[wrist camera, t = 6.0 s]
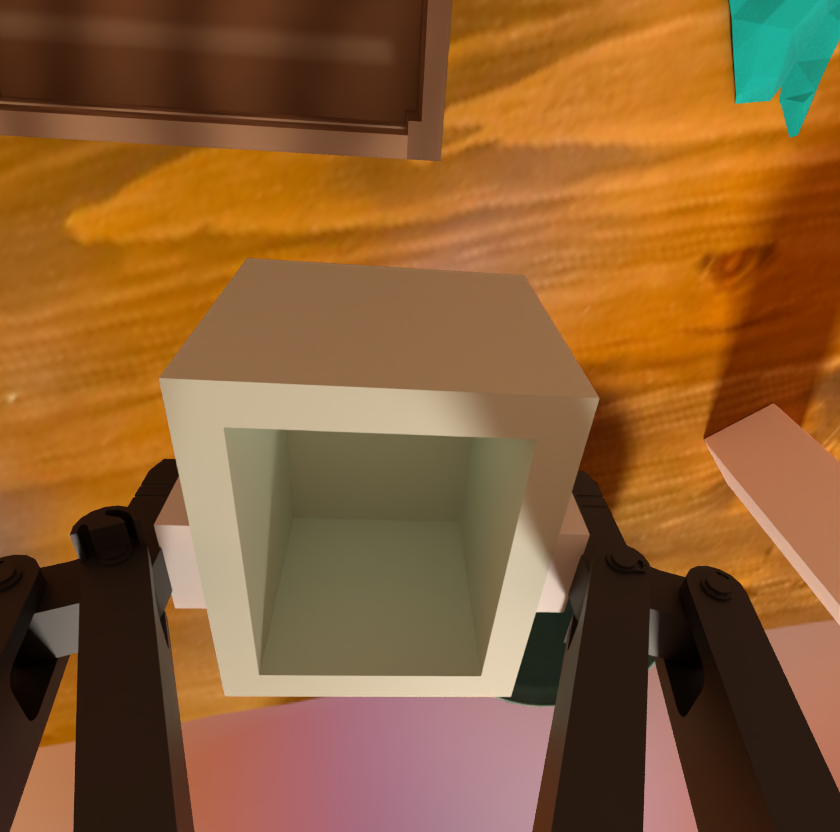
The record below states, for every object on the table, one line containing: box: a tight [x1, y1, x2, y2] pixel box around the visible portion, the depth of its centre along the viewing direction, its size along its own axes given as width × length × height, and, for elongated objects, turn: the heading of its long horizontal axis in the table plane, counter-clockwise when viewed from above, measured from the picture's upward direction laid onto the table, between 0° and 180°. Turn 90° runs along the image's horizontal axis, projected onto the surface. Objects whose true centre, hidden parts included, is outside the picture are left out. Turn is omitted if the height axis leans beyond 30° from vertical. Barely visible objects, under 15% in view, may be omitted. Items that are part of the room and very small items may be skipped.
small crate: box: [159, 258, 599, 697], centre depth 16 cm, size 8×10×7 cm
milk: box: [704, 403, 840, 625], centre depth 37 cm, size 6×6×22 cm
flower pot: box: [494, 598, 655, 707], centre depth 48 cm, size 16×16×11 cm
